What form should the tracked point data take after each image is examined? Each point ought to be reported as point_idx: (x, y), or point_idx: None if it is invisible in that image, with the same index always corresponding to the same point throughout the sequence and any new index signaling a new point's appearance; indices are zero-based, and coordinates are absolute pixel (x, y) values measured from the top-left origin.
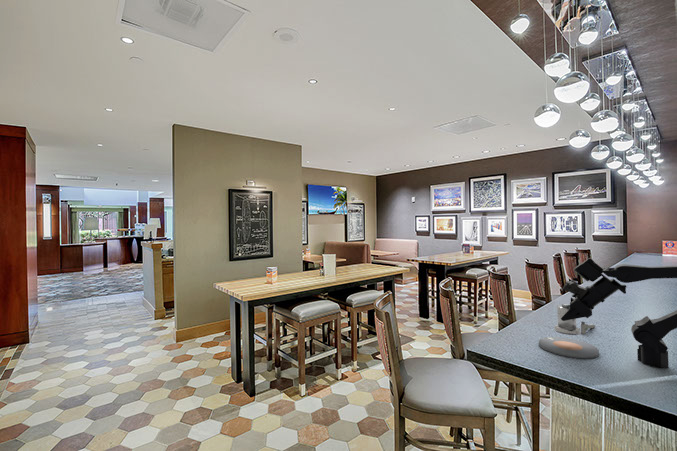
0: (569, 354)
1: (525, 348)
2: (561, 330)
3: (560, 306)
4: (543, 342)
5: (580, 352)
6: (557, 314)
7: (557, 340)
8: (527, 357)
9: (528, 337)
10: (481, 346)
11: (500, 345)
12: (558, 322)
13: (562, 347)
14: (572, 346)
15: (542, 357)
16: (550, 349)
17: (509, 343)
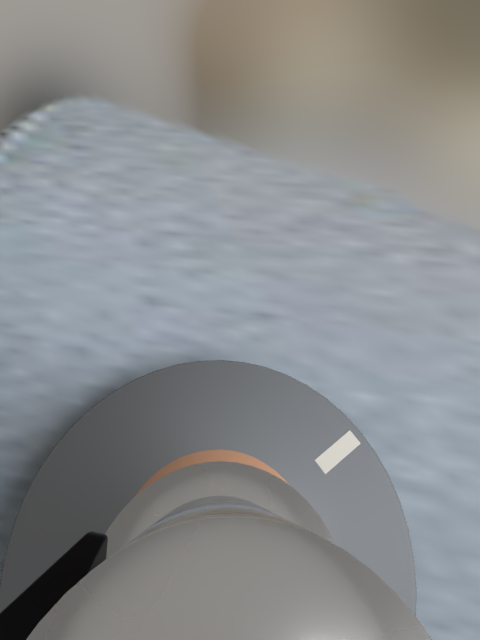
0: (16, 532)
1: (179, 297)
2: (118, 514)
3: (319, 627)
4: (218, 387)
5: None
6: (240, 504)
7: (312, 497)
8: (27, 291)
9: (405, 336)
10: (134, 119)
11: (182, 190)
12: (194, 501)
13: None
14: None
15: (47, 367)
16: (87, 413)
17: (235, 231)
